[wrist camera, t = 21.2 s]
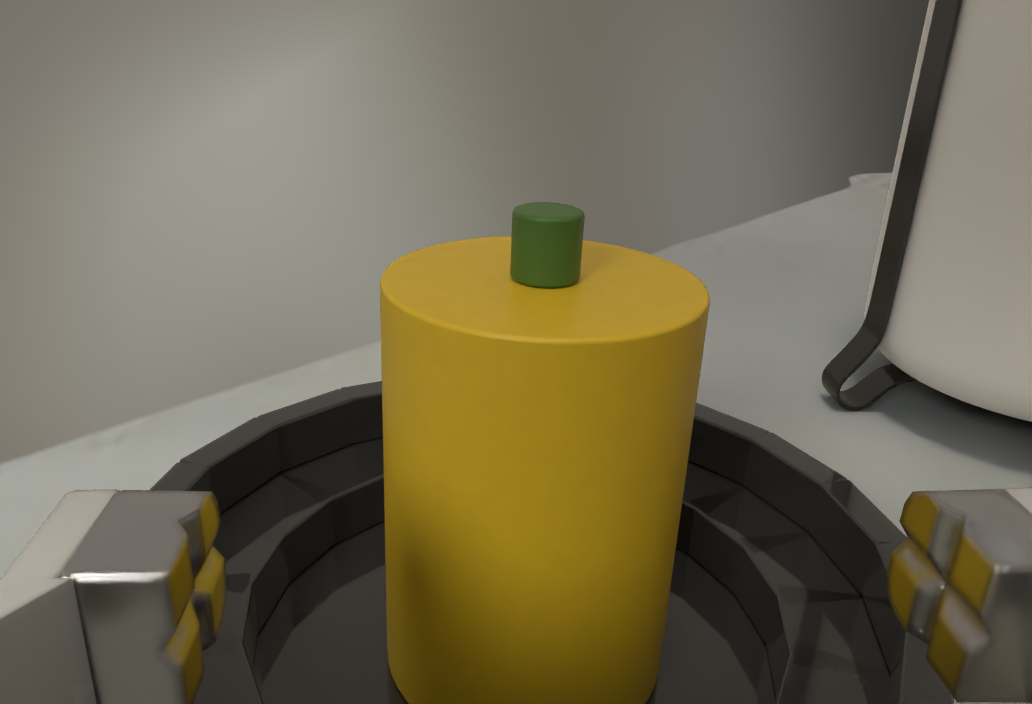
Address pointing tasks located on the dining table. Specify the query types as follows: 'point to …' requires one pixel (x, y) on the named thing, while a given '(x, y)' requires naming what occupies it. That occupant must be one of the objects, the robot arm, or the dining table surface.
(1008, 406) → the coffee press
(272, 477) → the bowl
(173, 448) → the dining table surface
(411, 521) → the pepper
